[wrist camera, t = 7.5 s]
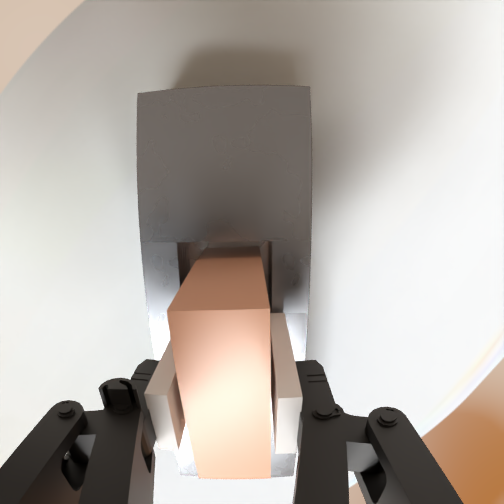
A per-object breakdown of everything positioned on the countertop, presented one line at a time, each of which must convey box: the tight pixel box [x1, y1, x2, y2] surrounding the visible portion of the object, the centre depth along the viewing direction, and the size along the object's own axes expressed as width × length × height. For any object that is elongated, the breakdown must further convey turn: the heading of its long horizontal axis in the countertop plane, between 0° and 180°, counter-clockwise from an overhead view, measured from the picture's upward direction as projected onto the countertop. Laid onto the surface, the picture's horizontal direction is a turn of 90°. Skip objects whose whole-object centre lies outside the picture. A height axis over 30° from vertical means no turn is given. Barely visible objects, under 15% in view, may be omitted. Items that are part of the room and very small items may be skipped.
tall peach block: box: [167, 246, 271, 479], centre depth 14 cm, size 3×8×9 cm, turn 2°
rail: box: [137, 85, 312, 477], centre depth 18 cm, size 8×24×4 cm, turn 1°
